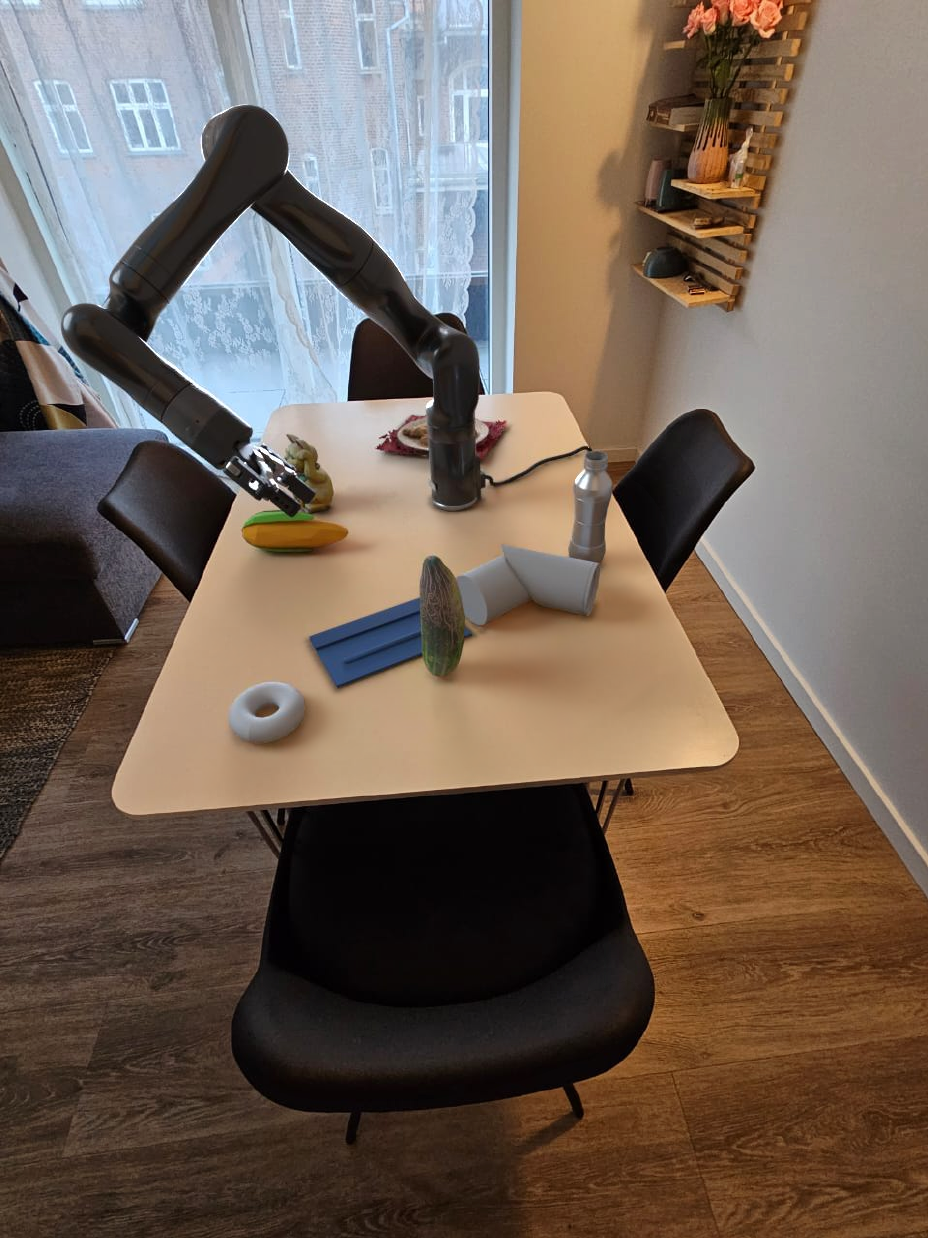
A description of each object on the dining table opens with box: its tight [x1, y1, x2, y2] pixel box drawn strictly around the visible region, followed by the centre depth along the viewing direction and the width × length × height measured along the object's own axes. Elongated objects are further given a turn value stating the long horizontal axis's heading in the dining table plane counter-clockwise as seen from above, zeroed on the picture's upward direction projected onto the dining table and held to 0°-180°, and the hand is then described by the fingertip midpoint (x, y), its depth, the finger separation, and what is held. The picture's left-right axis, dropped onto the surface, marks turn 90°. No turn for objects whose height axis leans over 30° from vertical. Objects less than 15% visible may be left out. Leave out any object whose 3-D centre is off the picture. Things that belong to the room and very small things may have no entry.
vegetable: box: [418, 554, 466, 678], centre depth 88 cm, size 6×6×20 cm
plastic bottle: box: [567, 450, 614, 563], centre depth 108 cm, size 6×7×20 cm
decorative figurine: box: [283, 433, 335, 514], centre depth 129 cm, size 10×8×15 cm
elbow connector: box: [455, 544, 601, 626], centre depth 102 cm, size 18×11×20 cm
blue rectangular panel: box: [308, 596, 473, 689], centre depth 100 cm, size 22×12×1 cm, turn 119°
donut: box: [228, 681, 306, 744], centre depth 87 cm, size 10×4×10 cm
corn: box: [240, 509, 349, 553], centre depth 119 cm, size 7×8×20 cm
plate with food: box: [374, 414, 508, 460], centre depth 156 cm, size 24×26×4 cm
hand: (305, 505), depth 92 cm, fingers open, 8 cm apart
